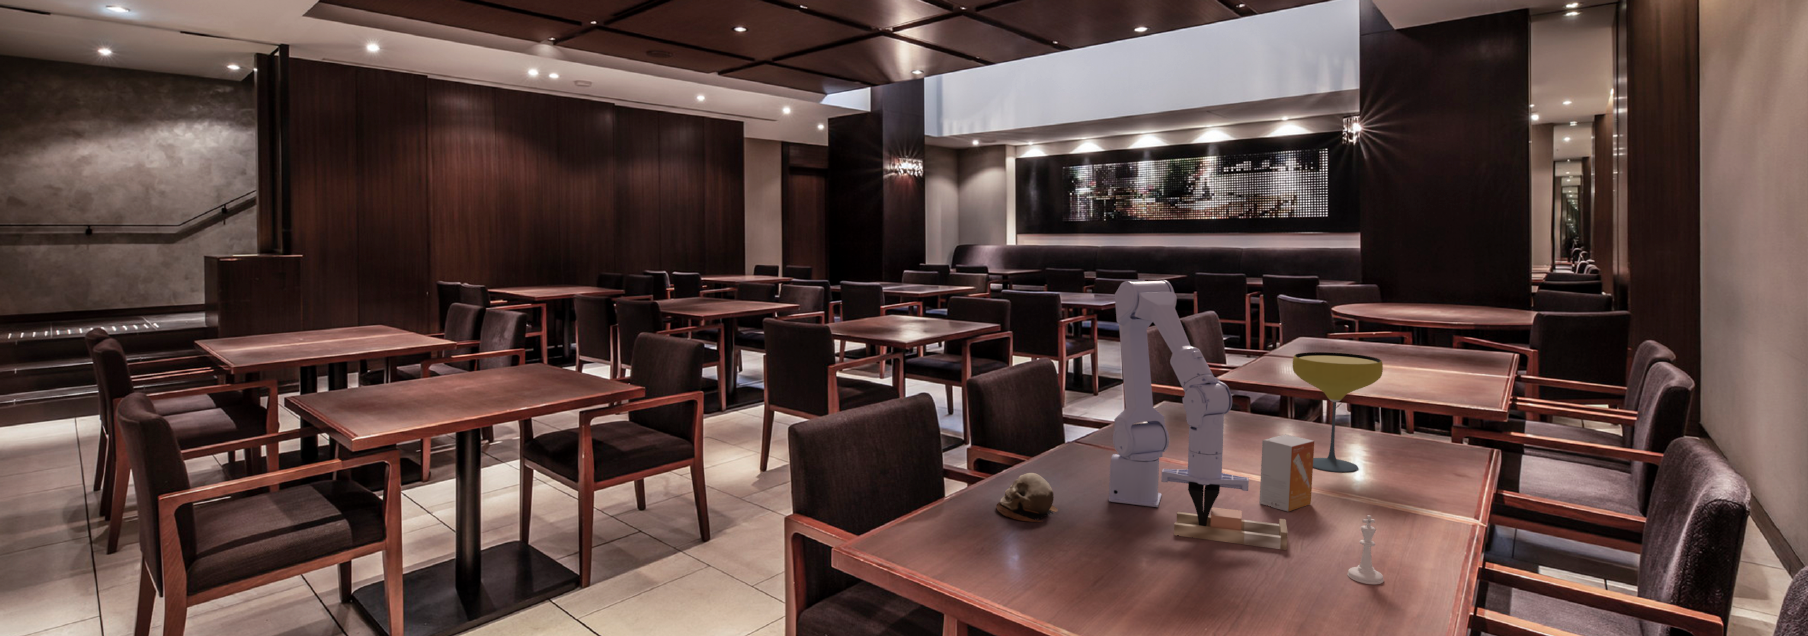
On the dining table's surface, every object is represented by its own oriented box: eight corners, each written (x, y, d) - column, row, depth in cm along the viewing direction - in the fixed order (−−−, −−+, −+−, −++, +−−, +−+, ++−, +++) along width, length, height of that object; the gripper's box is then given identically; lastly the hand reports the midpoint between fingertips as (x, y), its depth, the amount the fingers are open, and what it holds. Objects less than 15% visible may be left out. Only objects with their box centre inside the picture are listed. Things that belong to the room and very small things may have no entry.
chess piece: (1340, 571, 129) (1343, 510, 128) (1370, 570, 130) (1373, 509, 129) (1360, 585, 125) (1364, 521, 123) (1390, 584, 125) (1394, 520, 124)
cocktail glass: (1277, 453, 198) (1282, 351, 195) (1357, 456, 195) (1363, 352, 192) (1303, 475, 180) (1308, 363, 177) (1391, 478, 177) (1398, 365, 175)
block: (1210, 537, 144) (1210, 515, 144) (1211, 528, 148) (1211, 507, 148) (1240, 541, 142) (1241, 518, 142) (1240, 532, 146) (1241, 510, 146)
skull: (980, 509, 156) (1000, 462, 161) (1003, 533, 163) (1021, 487, 167) (1035, 521, 149) (1053, 471, 153) (1056, 545, 155) (1074, 497, 160)
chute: (1173, 535, 145) (1174, 518, 145) (1176, 522, 152) (1177, 506, 151) (1286, 550, 138) (1287, 533, 138) (1284, 535, 145) (1285, 519, 144)
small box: (1288, 512, 156) (1292, 446, 155) (1258, 503, 162) (1261, 439, 160) (1312, 504, 161) (1315, 440, 160) (1281, 496, 166) (1284, 433, 165)
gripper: (1160, 451, 144) (1158, 526, 146) (1249, 460, 139) (1246, 537, 140) (1164, 442, 151) (1162, 513, 152) (1249, 450, 145) (1246, 524, 146)
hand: (1202, 524), depth 146 cm, fingers closed
